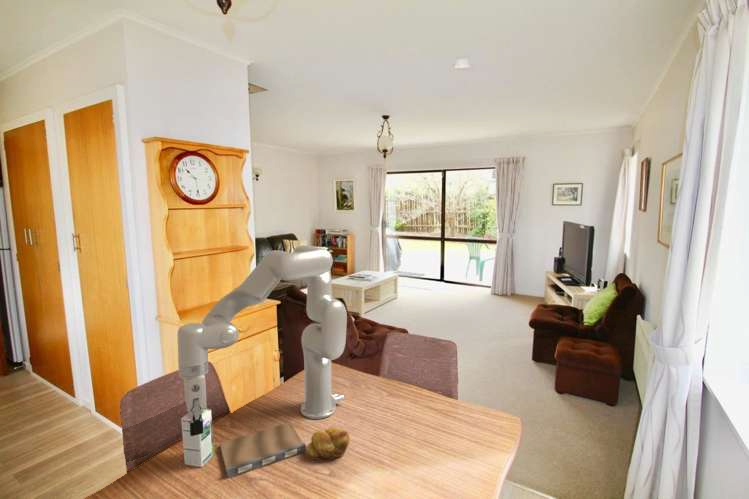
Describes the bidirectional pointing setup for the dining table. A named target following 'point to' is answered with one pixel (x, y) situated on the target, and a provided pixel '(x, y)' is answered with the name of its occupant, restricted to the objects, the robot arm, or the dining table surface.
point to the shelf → (260, 449)
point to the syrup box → (198, 440)
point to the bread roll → (328, 443)
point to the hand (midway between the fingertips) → (195, 425)
